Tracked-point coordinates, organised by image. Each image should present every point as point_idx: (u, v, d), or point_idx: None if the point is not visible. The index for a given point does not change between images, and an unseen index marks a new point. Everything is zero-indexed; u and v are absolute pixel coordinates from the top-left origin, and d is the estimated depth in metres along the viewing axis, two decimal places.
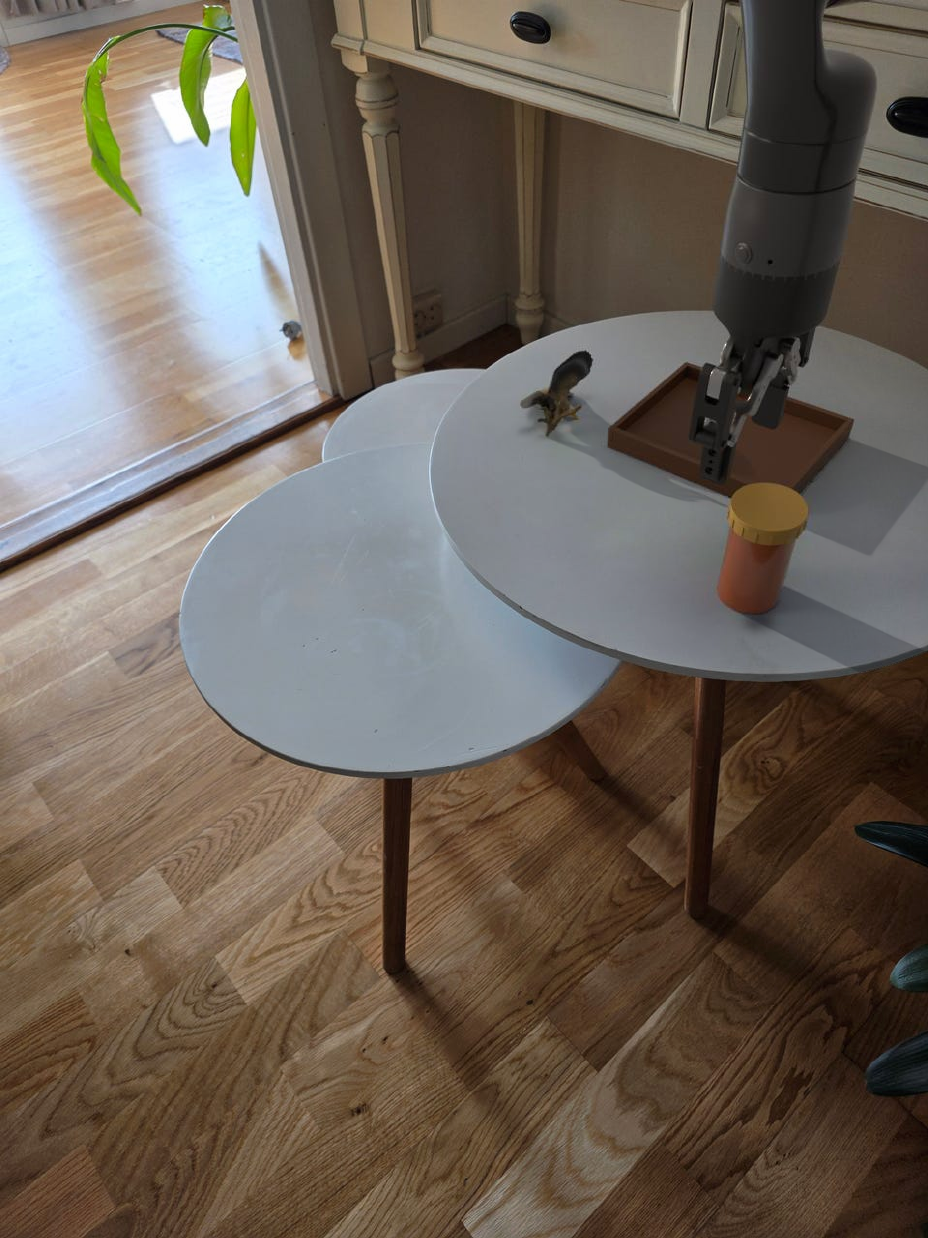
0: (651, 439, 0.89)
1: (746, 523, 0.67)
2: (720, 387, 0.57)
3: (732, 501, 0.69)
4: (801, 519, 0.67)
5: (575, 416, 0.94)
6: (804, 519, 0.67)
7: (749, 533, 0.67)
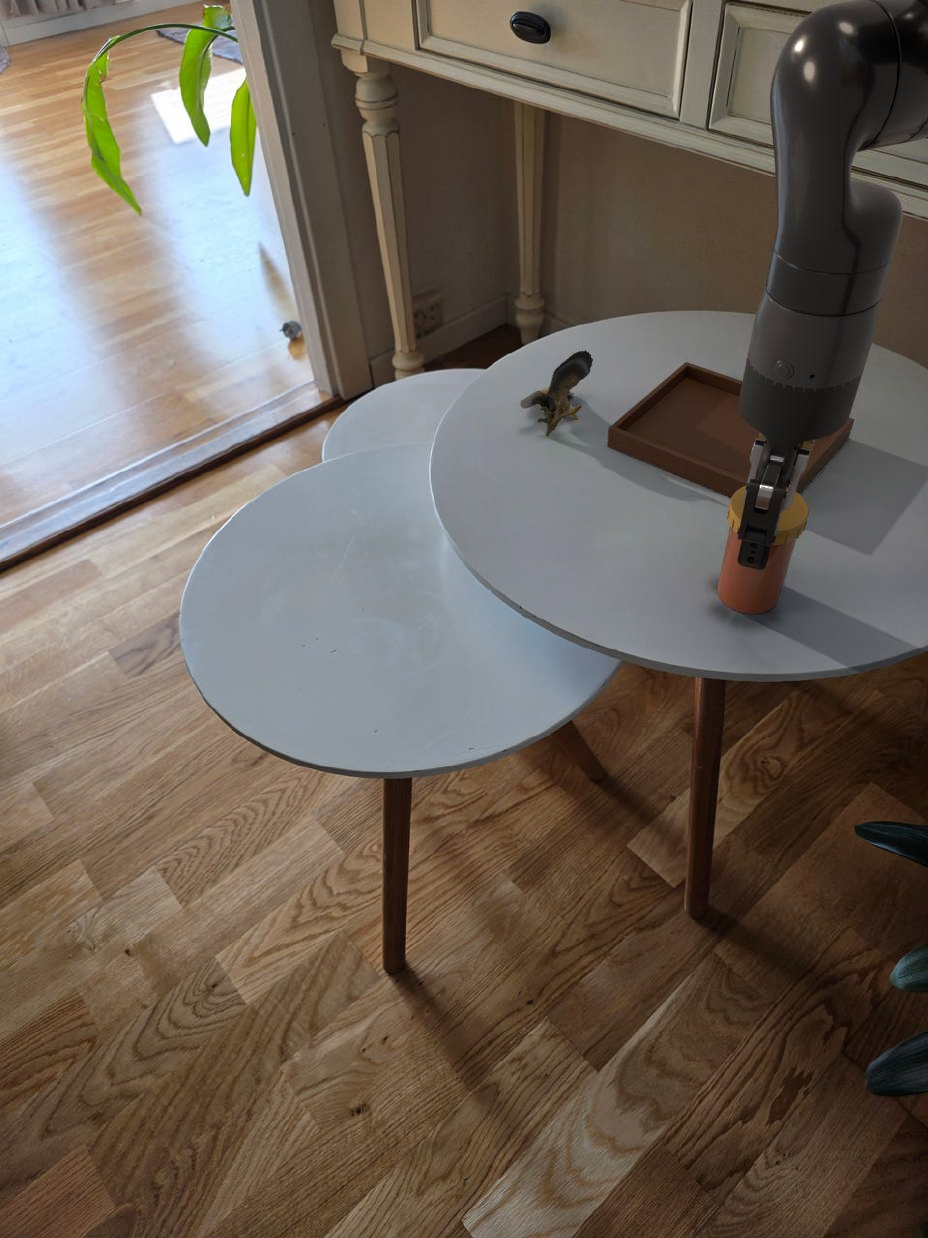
0: (651, 439, 0.89)
1: None
2: (769, 502, 0.60)
3: (732, 501, 0.69)
4: (801, 519, 0.67)
5: (575, 416, 0.94)
6: (804, 519, 0.67)
7: None
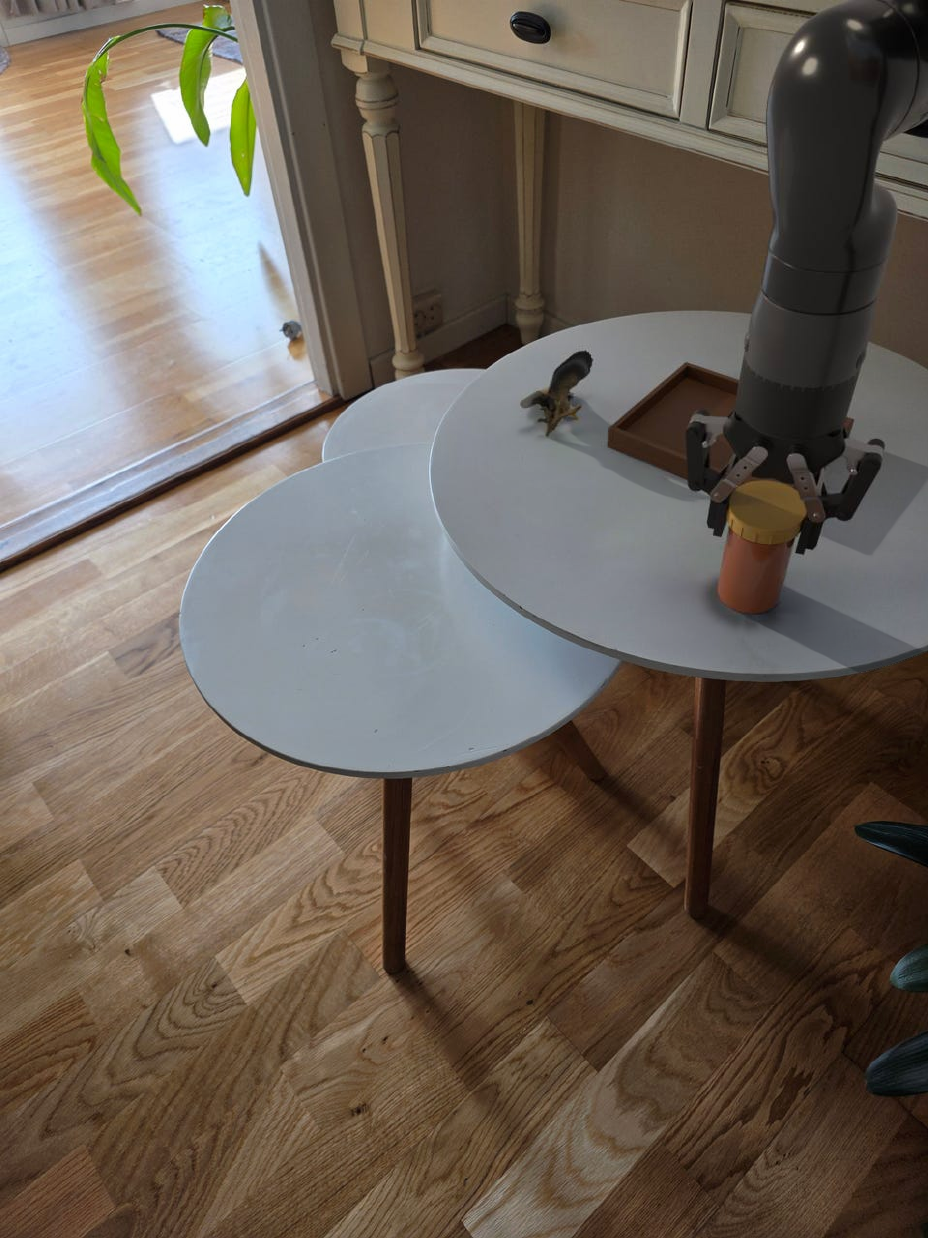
0: (651, 439, 0.89)
1: (799, 521, 0.66)
2: None
3: (766, 528, 0.66)
4: (783, 486, 0.69)
5: (575, 416, 0.94)
6: (783, 484, 0.69)
7: (802, 525, 0.67)
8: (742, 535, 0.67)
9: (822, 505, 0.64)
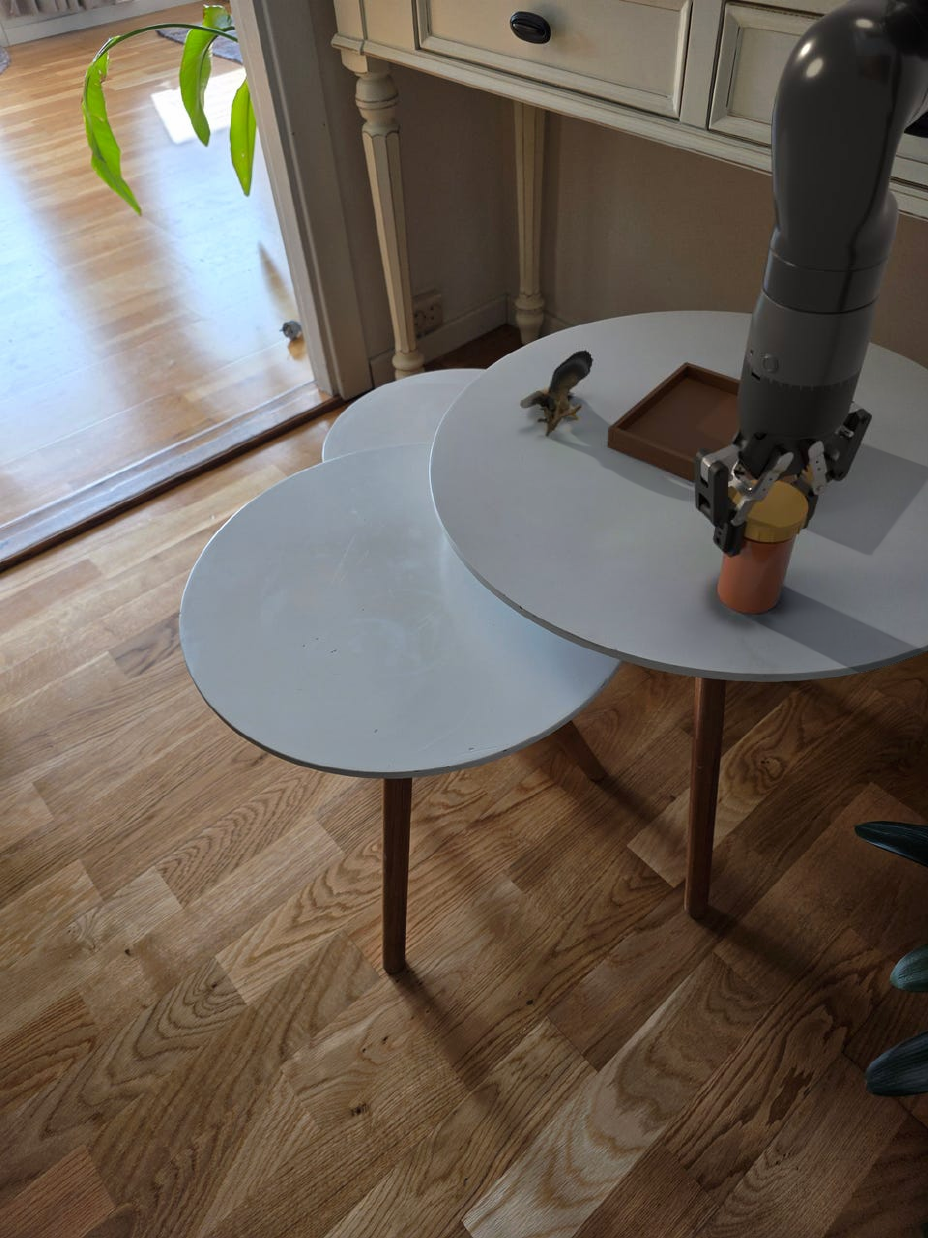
0: (651, 439, 0.89)
1: (805, 501, 0.68)
2: None
3: (796, 521, 0.66)
4: (756, 481, 0.70)
5: (575, 416, 0.94)
6: (753, 480, 0.70)
7: None
8: (774, 539, 0.67)
9: (824, 476, 0.66)
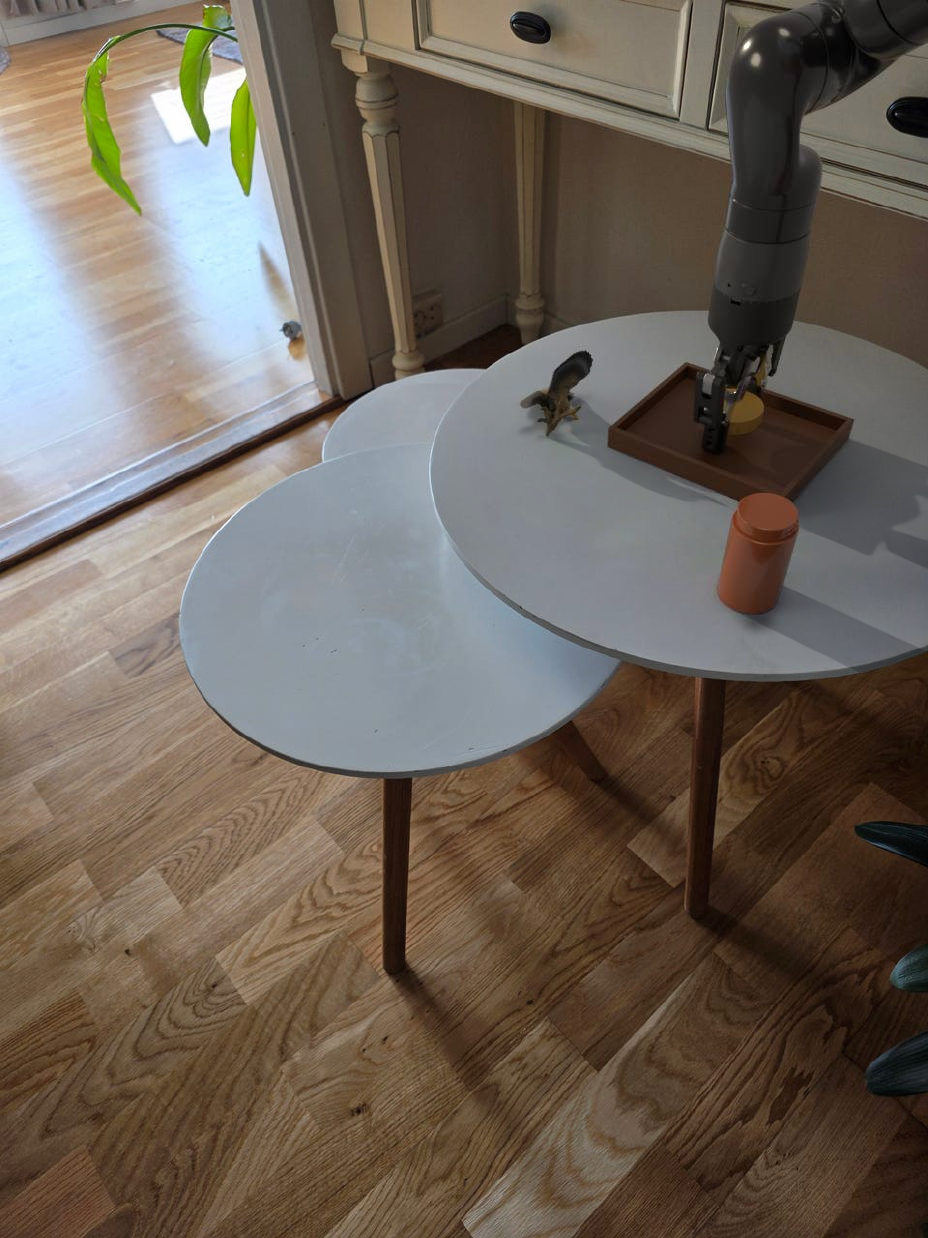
0: (651, 439, 0.89)
1: (756, 397, 0.87)
2: None
3: (761, 411, 0.85)
4: None
5: (575, 416, 0.94)
6: None
7: None
8: (750, 430, 0.85)
9: None
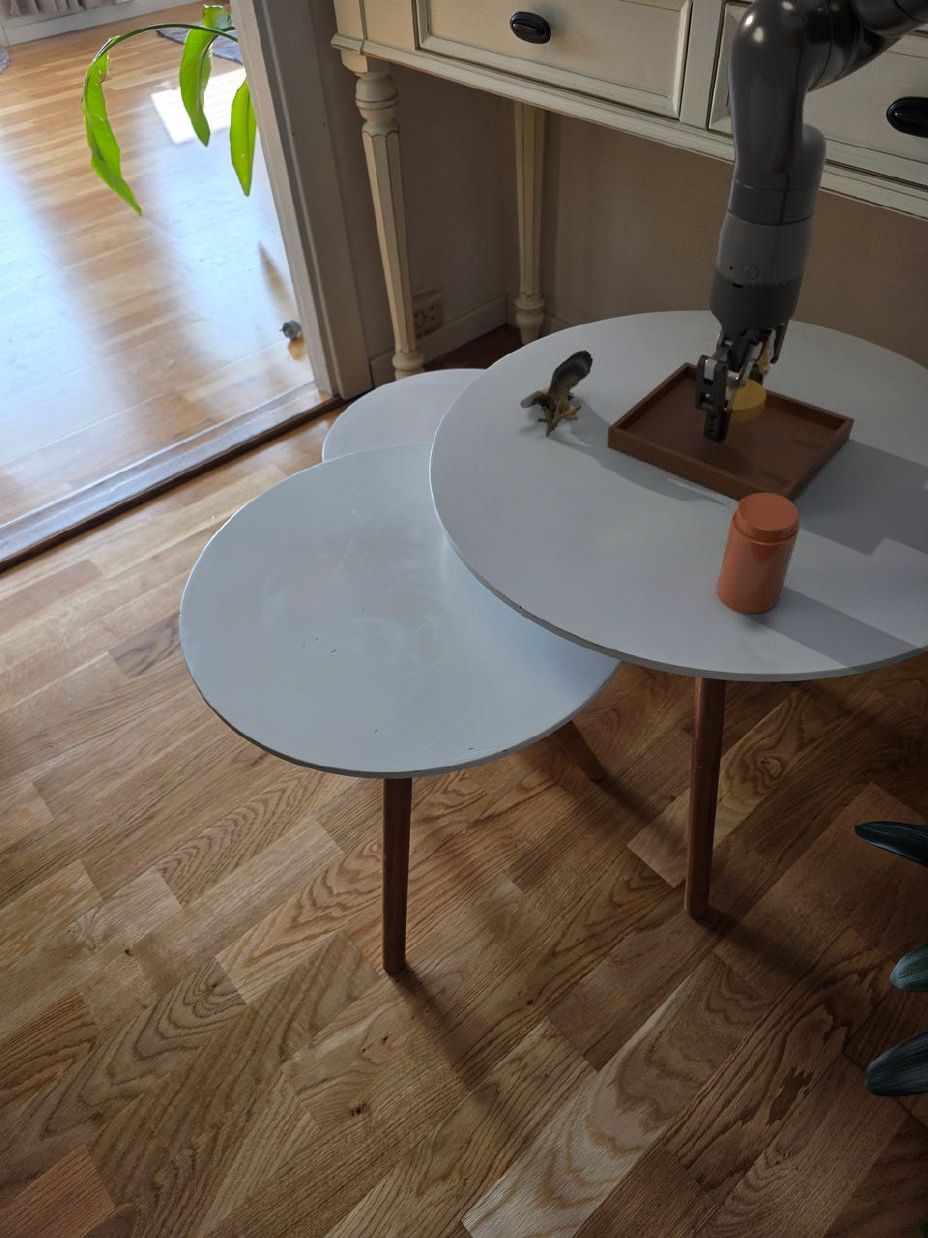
0: (651, 439, 0.89)
1: (758, 384, 0.86)
2: None
3: (763, 398, 0.84)
4: None
5: (575, 416, 0.94)
6: None
7: None
8: (752, 417, 0.84)
9: None
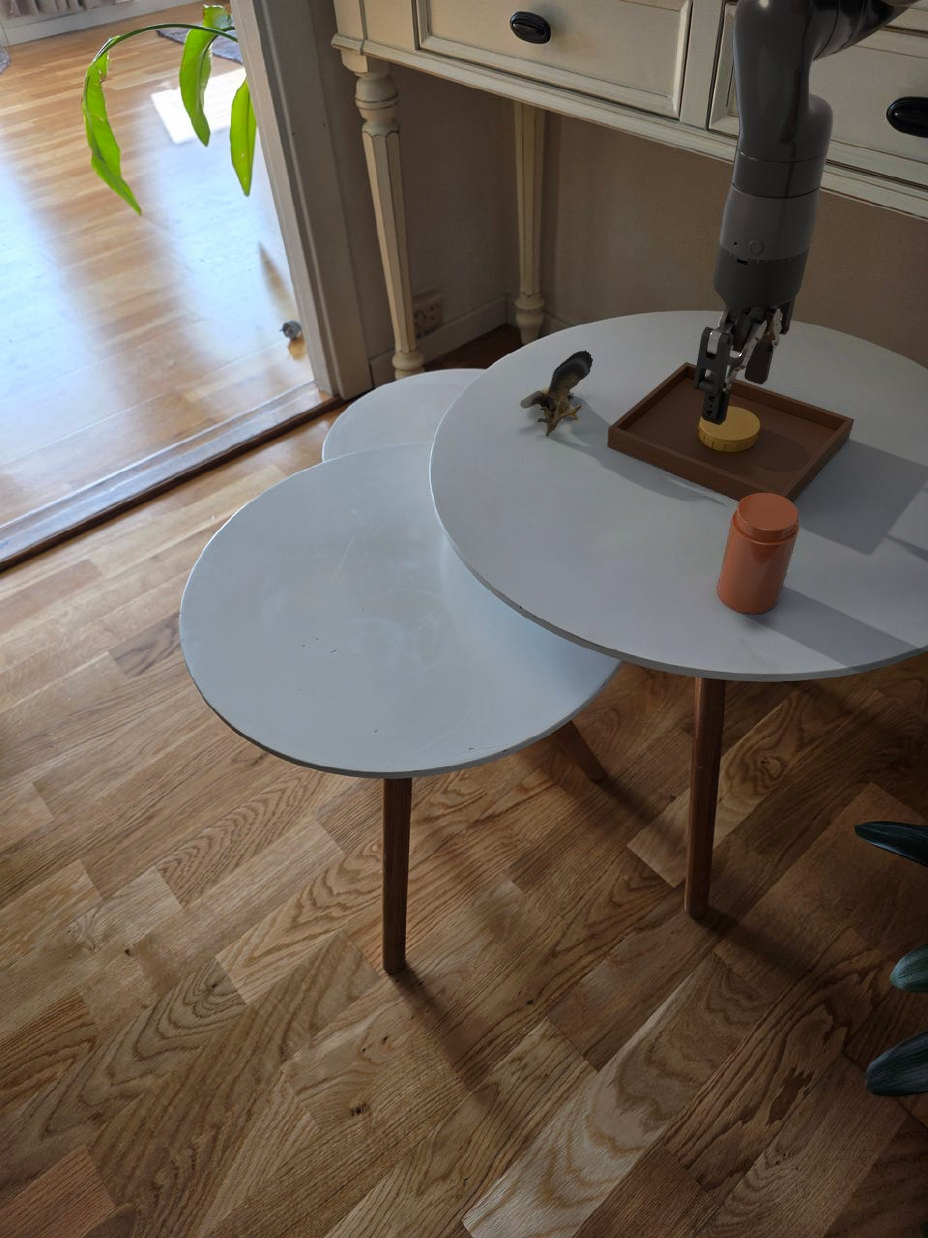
0: (651, 439, 0.89)
1: (752, 414, 0.89)
2: None
3: (757, 429, 0.87)
4: None
5: (575, 416, 0.94)
6: None
7: None
8: (746, 447, 0.87)
9: None
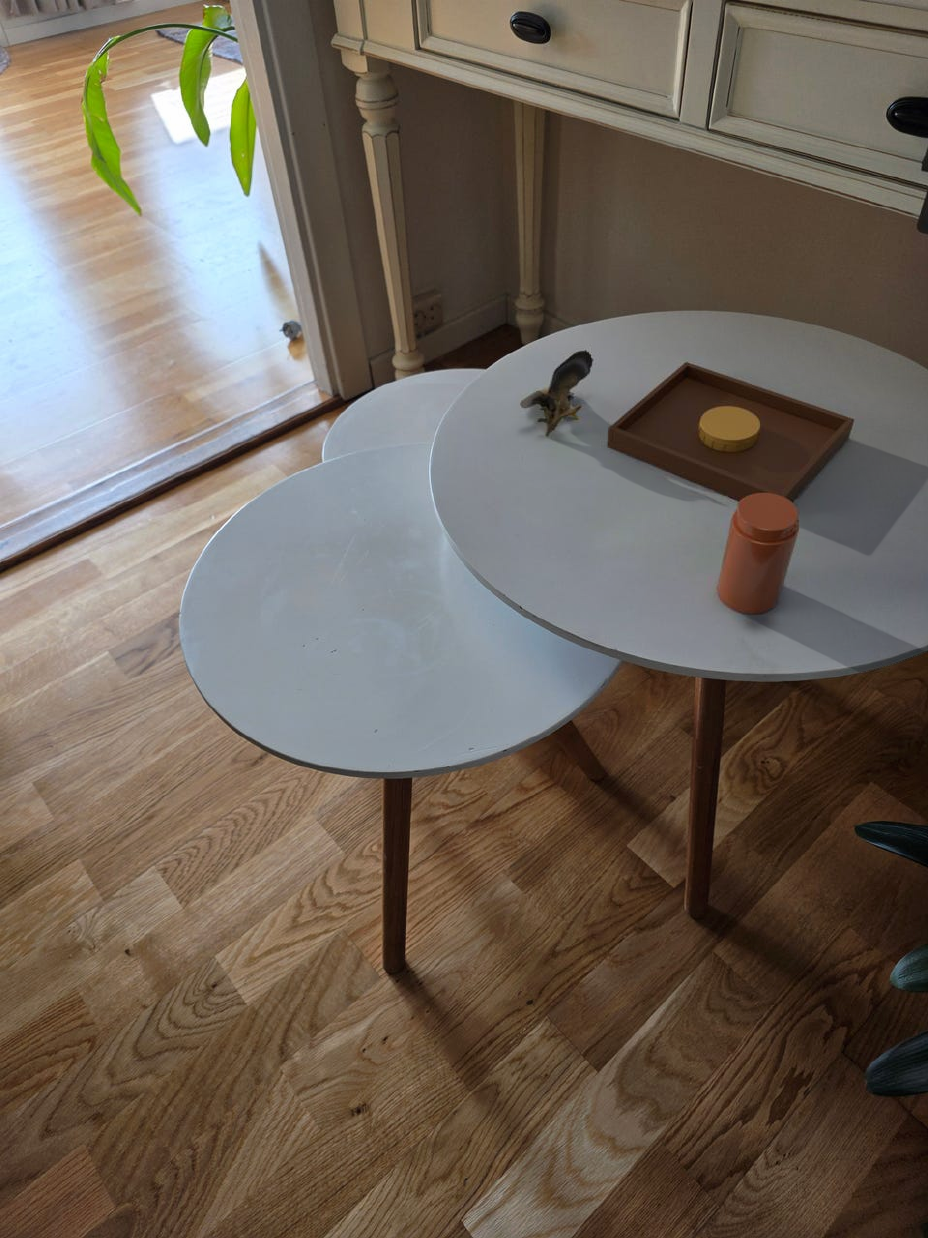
0: (651, 439, 0.89)
1: (752, 414, 0.89)
2: None
3: (757, 429, 0.87)
4: (710, 410, 0.90)
5: (575, 416, 0.94)
6: (708, 410, 0.90)
7: None
8: (746, 447, 0.87)
9: None
